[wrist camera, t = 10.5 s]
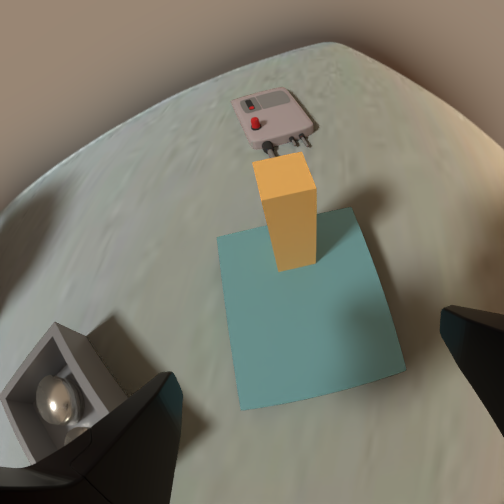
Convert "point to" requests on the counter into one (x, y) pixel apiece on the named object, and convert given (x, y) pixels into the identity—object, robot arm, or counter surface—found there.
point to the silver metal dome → (60, 401)
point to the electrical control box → (272, 119)
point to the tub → (65, 366)
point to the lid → (303, 296)
